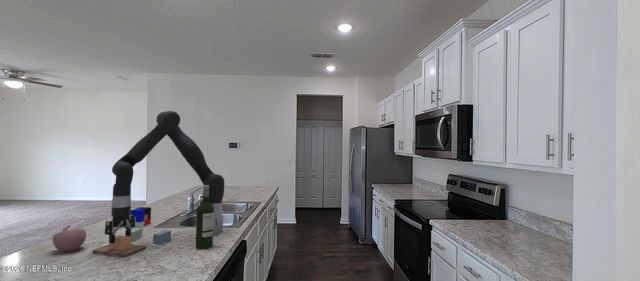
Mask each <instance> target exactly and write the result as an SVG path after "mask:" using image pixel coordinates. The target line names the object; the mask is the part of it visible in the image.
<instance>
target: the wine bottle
mask: <svg viewBox="0 0 640 281" xmlns="http://www.w3.org/2000/svg"><path fill="white" fill-rule="evenodd" d="M202 188H203V190H202V191H203V192H202V201H201V203H200V204H199V205H198V206H197V208H196V220H195V221H196V223H195V248H196V249H198V250H206V249H207V250H208V249H211V248H212V247H213V245H214V243H213V241H214V235H213V220H214V207H213V205H212V204H211V203H210V202H209V185H202Z"/></svg>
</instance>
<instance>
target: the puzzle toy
mask: <svg viewBox="0 0 640 281" xmlns="http://www.w3.org/2000/svg"><path fill="white" fill-rule="evenodd" d="M130 215H135V227H133V228H132V229H134V228H142V229H143V228H144V227H146V226H148V225H151V220H152V219H151V217H152V207H149V206H134V207H131V214H130Z"/></svg>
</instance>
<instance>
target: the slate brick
mask: <svg viewBox="0 0 640 281" xmlns="http://www.w3.org/2000/svg"><path fill="white" fill-rule="evenodd" d="M171 240H172V230H167V229H162V230H161V231H159V232H155V233H153V234H152V245H163V244H165V243H167V242H170V241H171Z"/></svg>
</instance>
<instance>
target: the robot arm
mask: <svg viewBox="0 0 640 281" xmlns="http://www.w3.org/2000/svg"><path fill="white" fill-rule="evenodd" d="M156 123H157V124H156V126H155V127H154V128H153V129H152V130H151V131H150V132H149V133H147V134H145V136H144V137H141V139H140V140H139V141H138V142H137V141H136V143H135V144H134V145H133V146H132V147H131V149H129V151H128V152H127V153H126V154H124V155H123V156H122V157H120V158H119V159H118V160H117V161H116V162H115V163H114V164H113V166H112V169H111V172H112V174H113V175H114V176H115V183H114V184H113V186H112V187H113V188H112V197H111V198H112V199H111V211H110V212H111V217H112V218H111V220H106V221H105V225H104V226H105V227H104V228H105V229H104V235H108V243H109V242H110V243H112V244H113V243H115V235H116V233H117V231H119V230H120V229H121V228H125V231H124V232H125V233H124V236H131V229H134V228H133V227H135V215H130V214H131V208H132V196H131V194H132V191H131V190H132V186H131V185H132V182H133V177H134V167H135V165H137V164H139V163H140V162H142V161H143V160H144V159H145V158H146V157H147V155H149V153H150V152H152V150H153V149H154V148H155V147H156V146H157V145H158V144H159V143H160V142H161V141H162V140H163V138H165V137H166V136H168V138H169V139H170V140H171V142H172V143H173V144H174V146H175V147H176V148H177V150H178V151H179V152H180V154H181V155H182V157H183V158H184V159H185V161H186V162H187V163H188V165H189V166H190V167H191V168H192V170H194V172H195V173H196V174H197V176H198V177H199V180H200V181H201V183H202V184H203V185H202V186H204V185H209V202H210V203H211V204H212V205H213V207H214V220H213V236H215V235H217V236H218V235H219V234H221V233H223V230H224V228H223V227H224V226H223V225H224V215H223V214H222V212H223V211H222V210H223V198H224V196H225V195H224V194H225V178H224V176H222V175H221V174H217V173H214V172H213V171H212V169H211V168H210V167H209V166H208V164H207V162H206V158H205V155H204V153H203V151H202V149H201V148H200V147H199V145H198V144H197V143H196V142H195V141H194V140H193V139H192V138H191V137H190V136H188V135H187V134H186V133H185V132H184V131H183V130H182V129H181V127H180V126H179V125H180V124H181V116H180V115H179V114H178V112H175V111H172V110H167V111H162V112H159V113H158V115H157V116H156Z"/></svg>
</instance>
